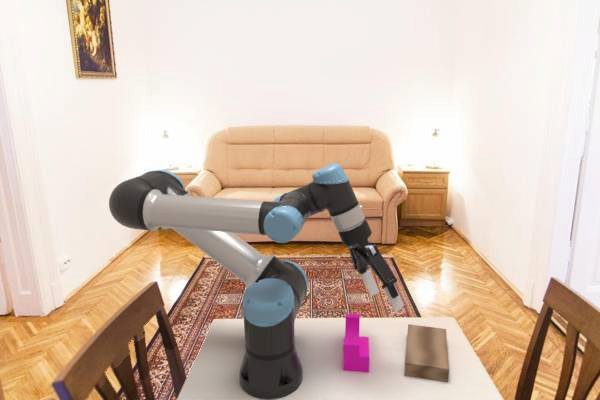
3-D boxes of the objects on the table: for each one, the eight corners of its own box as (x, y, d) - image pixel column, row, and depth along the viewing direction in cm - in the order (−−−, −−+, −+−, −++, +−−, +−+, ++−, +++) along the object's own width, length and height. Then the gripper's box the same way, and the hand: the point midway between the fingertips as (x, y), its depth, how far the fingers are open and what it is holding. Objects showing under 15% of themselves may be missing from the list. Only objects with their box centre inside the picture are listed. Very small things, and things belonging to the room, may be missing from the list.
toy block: (368, 373, 107) (369, 346, 105) (343, 371, 108) (343, 344, 106) (368, 339, 122) (368, 314, 120) (345, 337, 123) (345, 313, 121)
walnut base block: (404, 377, 106) (405, 362, 105) (407, 337, 123) (408, 324, 122) (447, 383, 103) (449, 369, 102) (445, 341, 120) (446, 328, 119)
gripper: (387, 222, 95) (424, 306, 98) (346, 214, 119) (377, 282, 122) (358, 238, 93) (397, 323, 96) (322, 227, 117) (354, 295, 120)
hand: (386, 300), depth 109 cm, fingers open, 13 cm apart
